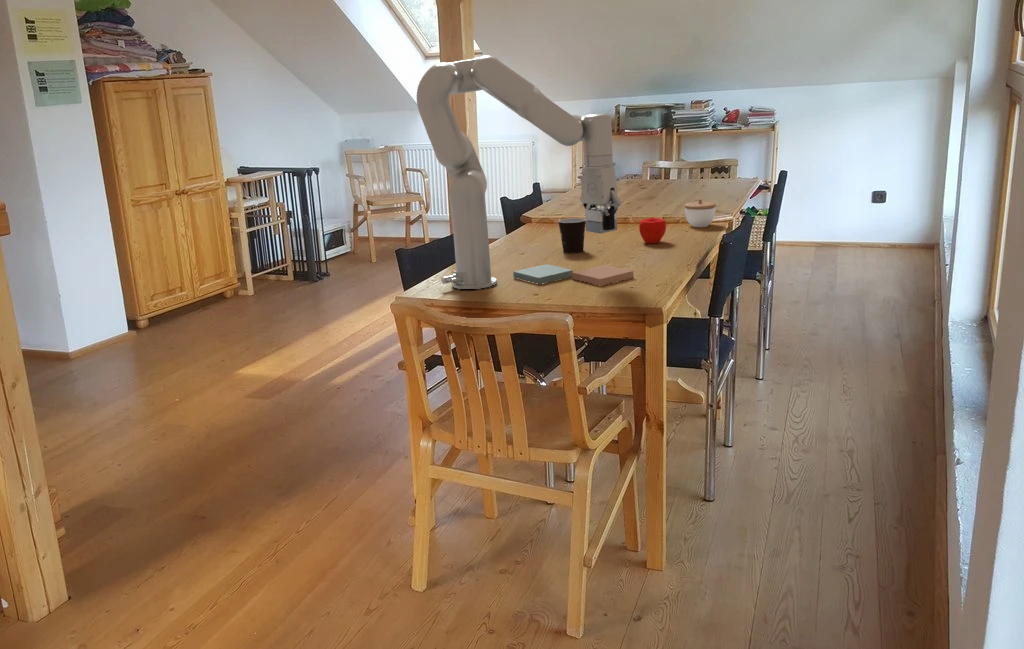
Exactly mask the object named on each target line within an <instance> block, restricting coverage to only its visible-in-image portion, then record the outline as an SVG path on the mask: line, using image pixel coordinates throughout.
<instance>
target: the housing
mask: <svg viewBox="0 0 1024 649" xmlns="http://www.w3.org/2000/svg"><path fill="white" fill-rule="evenodd" d="M608 209H610V206H608ZM617 211H618V210H617ZM617 211H616V214H614V221H615V228H614V229H612V230H605V228H604V216H605V215H606V214H605V211H604V207H603V206H600V205H599V206H597V207H595V208H590V209H585V208H584V216H585V218H584V219H585V220H586V221H585V231H586V232H588V233H589V232H590V233H595V234H605V233H609V232H614V231H618V220H617V219H618V212H617Z"/></svg>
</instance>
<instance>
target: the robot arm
mask: <svg viewBox="0 0 1024 649" xmlns="http://www.w3.org/2000/svg"><path fill="white" fill-rule="evenodd" d="M416 90H417V91H416V104H417V105H416V106H417V110H418V113H419V115H420V118H421V121H422V124H423V125H424V126H423V127H424V129H425V132H426V134H427V137H428V139H429V142H430V143H431V146H432V149H433V151H434V155H435V157H436V160H437V161H438V163H439V164H440V165H441V166H443V167H445V170H446V172H447V175H448V177H449V179H450V184H449V185H448V186H449V187H448V199H449V206H450V212H451V213H450V214H451V221H452V224H451V225H452V234H453V244H454V245H453V246H454V257H455V258H454V260H455V267H456V268H455V269H456V270H452V273H451V274H450V275H446V276H442V277H441V280H440V281H441V283H442V284H443V285H445V284H449V283H450V284H451V286H453V287H454V288H453V287H452V288H453V289H455V288H458V289H457V290H460V289H478V290H482V289H481V288H485V287H489V288H491V287H490V286H492V285H494V286H496V285H497V284H498V280H497V278H496V277H494V276H492V272H491V271H492V270H491V258H490V257H491V255H490V243H489V231H488V230H489V228H488V218H487V217H488V215H487V205H486V192H487V187H488V181H487V178H486V175H485V172H484V169H483V167H482V164H481V162H480V159H479V158H478V155H477V153H476V150H475V147H474V146H473V143H472V141H471V139H470V137H468V136H467V135H466V133H464V132H462V130H461V128H460V126H459V124H458V121H457V119H456V117H455V113H454V111H453V109H452V107H451V104H450V97H451V96H454V95H458V94H459V95H460V94H464V93H465V94H466V93H473V92H478V91H483V92H485V93H487V94H488V95H490V96H491V97H493V98H494V99H496V100H497V101H499V102H500V103H501V104H503V105H505V107H506V108H508V109H510V111H512V112H514V113H516V114H517V115H518V116H520V118H522V119H524V120H525V121H528V122H530V123H531V125H533V126H534V127H536V128H538V130H540V131H542V132H543V133H544V134H546V135H547V136H549V137H550V138H552V139H553V140H554V141H556V142H557V143H558V144H561V145H562V146H566V147H572V146H575V145H576V144H578V143H579V142H583V152H584V153H583V154H584V155H583V156H584V159H583V160H584V166H583V167H582V172H581V182H580V183H581V184H580V185H581V186H580V189H581V190H580V191H581V192H580V194H581V195H580V197H579V200H580V202H581V203H582V205H583V207H584V210H585V209H590V208H595V207H598V206H599V207H600V206H603V207H604V211H605V214H606V215H605V216H604V228H605V230H612V229H614V228H615V221H614V214H616V211H618V209H619V208H620V206H621V205H622V200H621V199H620V198H619V196H618V185H617V176H616V171H615V167H614V161H613V160H614V157H613V156H614V155H613V153H614V152H613V128H612V127H613V126H612V125H613V124H612V117H611V115H610V114H608V113H591V114H590V113H589V114H587V115H586V114H585V115H580V114H579V115H577V114H571V113H569V112H568V111H566V110H565V109H563V108H562V107H560V106H559V105H558V104H556V103H555V102H553V101H552V100H551V99H550V98H548V97H547V96H546V95H545V94H544V93H543V92H542V91H541V90H540V88H538V87H537V86H536V85H534V84H533V83H531V81H529V80H527V79H526V78H524V77H523V76H522V75H520V74H518V73H517V72H516V71H514V70H513V69H511V68H510V67H509V66H508V65H506V64H505V63H503V62H502V61H500V60H499V58H497V57H495V56H492V55H489V54H488V55H487V54H485V55H481V56H480V57H477V58H472V59H471V58H470V59H465V60H458V61H453V62H438V63H435V64H434V65H432V66H431V67H429V68H428V69H427V71H425V73H424V74H423V76H422V77H421V79H420V81H419V83H418V86H417V89H416ZM608 207H610V209H608ZM496 283H497V284H496ZM495 284H496V285H495ZM492 287H493V286H492ZM485 289H486V288H485Z"/></svg>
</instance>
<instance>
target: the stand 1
mask: <svg viewBox="0 0 1024 649" xmlns="http://www.w3.org/2000/svg"><path fill="white" fill-rule="evenodd" d="M512 272H513V273H512V274H513V279H514V278H519V279H522V280H526V281H530V282H534V283H538V284H541V285H543V284H542V283H546V282H550V283H552V282H551V281H554V282H556V281H555V280H558V281H560V280H559V279H563V280H565V279H564V278H567V279H570V278H569V277H571V278H572V272H574V270H573V269H570V268H566V267H561V266H556V265H552V264H547V263H546V264H541V265H536V266H532V267H528V268H524V269H519V270H514V271H512ZM522 280H521V281H522ZM526 281H525V282H526ZM530 282H529V283H530ZM546 284H547V283H546Z"/></svg>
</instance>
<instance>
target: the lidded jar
mask: <svg viewBox="0 0 1024 649" xmlns="http://www.w3.org/2000/svg"><path fill="white" fill-rule="evenodd" d="M702 200H703V199H702V198H699V199H698V201H693V202H692V201H691V202H686V203H685V204H684V214H685V215H684V216H685V218H686V221H687V223H688V224H690V226H691V227H693V228H707V227H709V226H710V225H711V223H713V221H714V219H715V215H716V206H717V205H716V202H713V201H702Z"/></svg>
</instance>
